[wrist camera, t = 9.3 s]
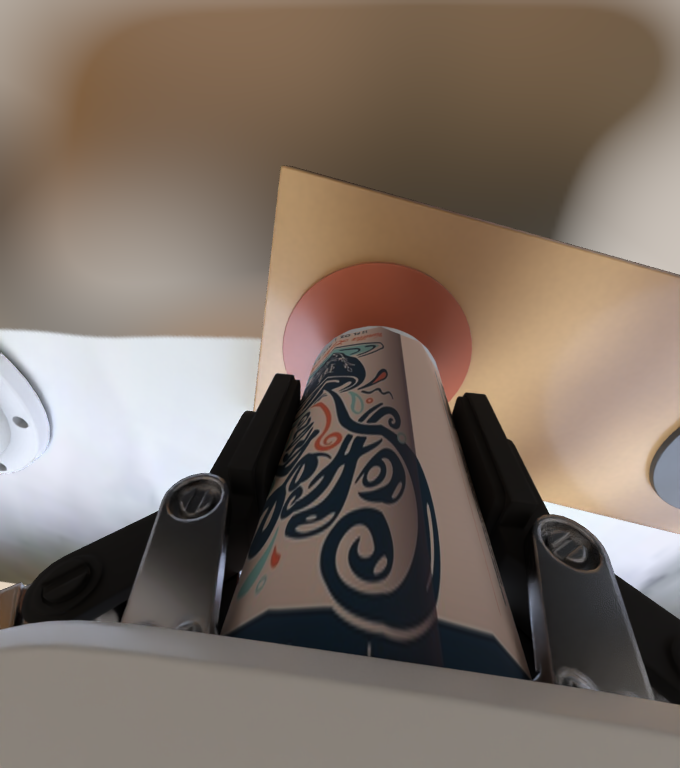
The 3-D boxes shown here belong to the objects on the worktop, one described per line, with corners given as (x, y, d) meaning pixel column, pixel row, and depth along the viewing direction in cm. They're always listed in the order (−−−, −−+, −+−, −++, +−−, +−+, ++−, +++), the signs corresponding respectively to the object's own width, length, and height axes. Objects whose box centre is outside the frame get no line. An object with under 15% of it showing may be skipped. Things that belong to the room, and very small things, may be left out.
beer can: (367, 292, 11) (246, 1541, 1) (464, 373, 12) (853, 1275, 2) (290, 382, 13) (13, 1032, 3) (378, 443, 15) (378, 1044, 4)
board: (259, 413, 19) (248, 434, 17) (290, 165, 12) (277, 164, 11) (713, 524, 20) (740, 553, 18) (963, 354, 13) (1038, 377, 12)
